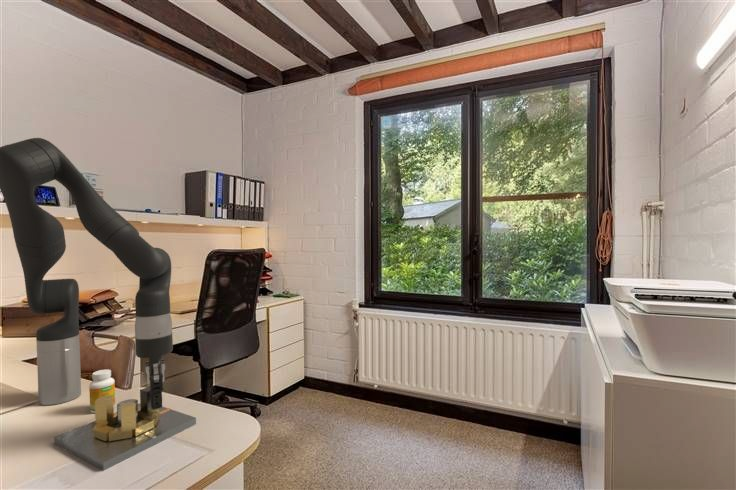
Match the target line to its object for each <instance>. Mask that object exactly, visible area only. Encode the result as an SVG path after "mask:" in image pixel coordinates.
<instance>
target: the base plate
mask: <svg viewBox="0 0 736 490" xmlns="http://www.w3.org/2000/svg"><path fill="white" fill-rule="evenodd" d="M138 401H139V400H138V399H136V398H131V399H125V400H121V401H120V402H117V404H116V412H117V423H116V424H114V425H111V426H110V427H112V428H120V427H121V405H122V404H127V403H131V402H135V406H136V423H138V422H141V421H143V420H145V419H144V418H141V417H139V418H138V407H141V405H140V403H139V402H138ZM158 410H159V411H160V418H159V420H158V422H157V425H156V426H154V428H152V429H150V430H147V431H145V432H143V433H141V434H139V435H137V436H134V435H133V436H132V438H126V439H120V440H113V441H109V440H107V441H104V440H101V439H98V438H96V437H94V434H93V428H94V427H95V425H96V424H97V423H95V420H93V421H92V422H89V423H86V424H84V425H81V426H79V427H76V428H74V429H71V430H69V431H65V432H63V433H61V434H58V435H56V436H54V437H53V444H54V445H55V446H57V447H59V448H61V449H63V450H65V451H66V452H69V453H71V454H72V455H75V456H76V457H78V458H80V459H81V460H83V461H85V462H88V463H89V464H91V465H93V466H95V467H97V468H99V469H100V470H102V471H106V470H107V469H109V468H111V467H114V466H115V465H117V464H119V463H121V462H123V461H125V460H127V459H129V458H131V457H134V456H135V455H136V454H139V453H142V452H144V451H145V450H147V449H149V448H150V447H153V446H156V445H157V444H158V443H161V442H163V441H165V440H166V439H169V438H171V437H173V436H175V435H177V434H179V433H181V432H184V431H185V430H187V429H190V428H191V427H193V426H194V425H197V417H195V416H193V415H190V414H187V413H183V412H180V411H177V410H173V409H171V408H170V407H166V406H163V405H162V407H161V408H158Z"/></svg>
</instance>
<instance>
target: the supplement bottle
mask: <svg viewBox="0 0 736 490" xmlns="http://www.w3.org/2000/svg"><path fill="white" fill-rule="evenodd" d="M91 378H92V381H91V382H90V383H89V386H88V388H89V411H90V413H92V414H95V401H96V400H97V399H99V398H100V397H102V396H113V407H114V408H115V407H116V386H115V385H116V384H115V383H116V381H115V378H114V377H112V370H111V369H109V368H107V369H99V370H97V371H94V372H93V373H92V376H91Z"/></svg>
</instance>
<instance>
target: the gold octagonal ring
mask: <svg viewBox="0 0 736 490" xmlns="http://www.w3.org/2000/svg"><path fill="white" fill-rule="evenodd" d="M149 388H150V385H149V386H147V387H144V388H142V389H139V398H140V399H139V400H140V403H139V404H140V405H141V407H138V418H139V417H141V418H144V419H145V420H143V421H141V422H138V423H136V406H135V402H131V403H127V404H122V405H121V427H120V428H112V427H110V426H111V425H114V424H116V423H117V411H116V412H114V411H115V410H114V408H115V407H113V396H102V397H100V398H99V399H97V400H96V401H95V413H94V418H95V420H94V421H95V423H97V424H96V425H95V427H94V428H93V434H94V437H96V438H98V439H101V440H104V441H107V440H109V441H113V440H120V439H126V438H132V436H133V435H134V436H137V435H139V434H141V433H143V432H145V431H147V430H150V429H152V428H154V426H156V425H157V422H158V420H159V418H160V411H159V410H158V409H154V410H153V409H152V408H151V394H150V391H149Z"/></svg>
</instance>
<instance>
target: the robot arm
mask: <svg viewBox="0 0 736 490" xmlns="http://www.w3.org/2000/svg"><path fill="white" fill-rule="evenodd" d="M54 180H55V181H56V182H58V183H59V184H61V185H62V186H63V187H64V188H65V189H66V190H67V191H68V192H69V194H70V195H71V198H72V199H73V202H74V205H75V208H76V212H77V215H78V218H79V220H80V222H81V224H82V226H83V227H84V228H85V230H86V231H87V232H88V233H89V234H90V235H91V236H92V237H94V238H95V239H96V240H97V241H98V242H99V243H101V244H102V245H104V247H106V249H108V250H110V251H111V252H112V253H113V254H114V255H115V257H116V258H117V259H118V260H119V261H120V262H121V264H122V265H124V267H125V268H126V269H128V270H129V271H130V272H131V273H133V274H134V275H135V276H136V277H138V278H139V283H138V290H137V292H136V294H135V299H134V303H135V305H134V306H135V308H134V309H135V310H134V311H135V320H134V321H135V322H134V338H135V339H134V340H135V344H134V345H135V355H136V357H137V358H139V359H140V358H141V359H145V358H146V359H149V360H148V361H145V362H144V363H145V374H146V381H147V386H148V385H149V386H150V388H149V391H150V394H151V408H152V409H153V410H154V409H158V408H161V407H162V406H163V391H164V387H163V385H164V384H163V383H164V382H165V370H166V360H165V358H162V357H163V356H164V355H165V356H166V355H168V354H171V353H172V352H173V350H174V343H173V342H174V341H173V321H172V316H171V298H170V287H171V279H172V278H171V277H172V259H171V256H170V255H169V253H168V252H167V251H166V250H164V249H162V248H160V247H154V246H152V245H151V244H150V243H149V242H147V241H146V239H144V238H143V237H142V236H140V232H139V231H138V229H137V228H136V227H135V226H134V225H133V224H131V222H129V221H128V220H127V219H126V218H124V217H123V216H122V215H121V214H120V213H119V212H118V211H116V210H115V209H114V208H113V207H112V206H111V205H110V204H108V202H107V201H105V200H104V198H103V197H102V196H101V195H100V194H99V193H98V191H96V189H95V188H94V187H93V186H92V184H91V183H90V182H89V181H88V180H87V178H86V177H85V176H84V175H83V174H82V173H81V172H80V171H79V169H78V168H77V167H76V166H75V165H74V164H73V162H71V160H70V159H69V158H68V157H67V156H66V154H65V153H64V152H62V150H61V149H59V147H57V146H56V145H55V144H54V143H52V142H51V141H49V140H47V139H44V138H41V137H31V138H28V139H24V140H20V141H17V142H13V143H9V144H5V145H3V146H0V192H1V194H2V197H3V199H4V200H3V201H4V202H5V205H6V208H7V211H8V216H9V218H10V219H9V220H10V224H11V227H12V232H13V239H14V243H15V247H16V250H17V253H18V257H19V261H20V265H21V267H22V268H21V269H22V271H23V272H22V273H23V277H24V278H23V279H24V285H25V286H24V287H25V293H26V300H27V305H28V308H29V310H30V311H31V313H33V314H36V315H47V314H58V313H59V314H60V313H64V315H63V316H62V317H61V318H59V319H58V320H56V321H54V322H51V323H49V324H46V325H43V326H41V327H40V328H38V329H37V330H36V333H35V337H36V338H35V339H36V341H35V342H36V362H37V363H36V364H37V365H36V366H37V393H38V394H37V395H38V404H39V405H43V406H51V405H58V404H62V403H63V404H64V403H66V402H69V401H72V400H74V399H77V398H79V397H80V396H81V395H82V379H81V378H82V377H81V376H82V374H81V348H80V347H81V346H80V345H81V344H80V326H79V325H80V324H79V323H80V322H79V304H80V301H79V300H80V286H79V283H78V281H77V280H76V279H75V278H57V279H44V278H45V276H46V275H47V273H48V272H49V271H50V270H51V269H52V268H53V267H54V266H55V265H56V264H57V263H58V261H60V260H61V258H62V257H63V256H64V254H65V252H66V248H67V245H66V237H65V236H66V235H65V230H64V227H63V224H62V223H61V221H60V220H58V218H56V217H55V216H54V215H52V214H51V213H49V212H48V211H46V210H45V209H43V208H42V207H41V206H40V205H38V203H37V201H36V197H35V189H36V187H39V186H43V185H45V184H46V183H49V182H52V181H54Z"/></svg>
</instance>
